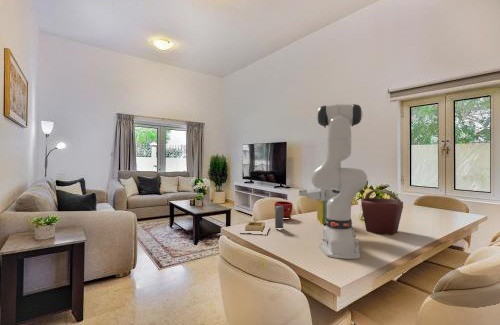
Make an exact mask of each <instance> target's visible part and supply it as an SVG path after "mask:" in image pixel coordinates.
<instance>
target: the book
mask: <svg viewBox="0 0 500 325" xmlns="http://www.w3.org/2000/svg"><path fill="white" fill-rule="evenodd" d="M327 202H328V201H320V200H316V209H317V210H316V220H317V219H318V220H319V221H320V222H319V221H318V220H317V221H318V222H319V224H320V225H322V224H325V225H326V217H327Z"/></svg>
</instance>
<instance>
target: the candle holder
mask: <svg viewBox="0 0 500 325" xmlns="http://www.w3.org/2000/svg"><path fill="white" fill-rule="evenodd" d="M245 225H246V226H245ZM245 225H244V226H245V231H261V232H263V230H264V228H265V226H266V222H263V221H247V223H246V224H245Z"/></svg>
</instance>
